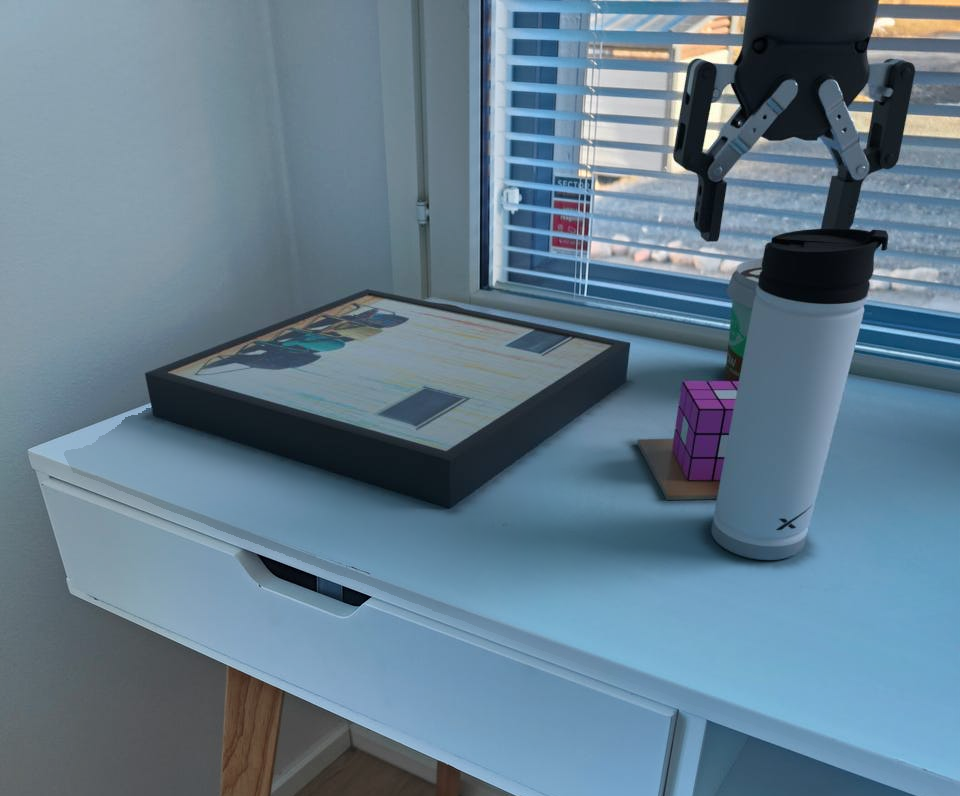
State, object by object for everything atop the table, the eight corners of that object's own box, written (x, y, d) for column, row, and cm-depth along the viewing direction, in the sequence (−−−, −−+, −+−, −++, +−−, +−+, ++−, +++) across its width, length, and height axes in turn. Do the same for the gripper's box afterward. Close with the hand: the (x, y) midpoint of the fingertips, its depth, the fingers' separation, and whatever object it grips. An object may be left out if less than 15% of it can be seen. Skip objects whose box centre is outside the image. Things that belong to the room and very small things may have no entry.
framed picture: (367, 288, 98) (630, 342, 86) (369, 324, 101) (626, 382, 88) (144, 373, 77) (449, 460, 65) (153, 415, 80) (450, 508, 67)
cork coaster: (755, 441, 77) (755, 437, 77) (798, 497, 69) (799, 492, 69) (636, 443, 77) (637, 439, 76) (666, 500, 68) (667, 495, 68)
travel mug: (805, 570, 61) (890, 246, 49) (703, 551, 63) (762, 234, 51) (812, 527, 66) (891, 222, 54) (717, 510, 67) (774, 212, 56)
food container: (695, 361, 93) (712, 256, 87) (755, 360, 93) (775, 255, 88) (736, 409, 83) (758, 294, 77) (803, 407, 83) (829, 292, 78)
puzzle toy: (671, 449, 75) (681, 380, 71) (741, 449, 75) (755, 380, 72) (687, 481, 70) (698, 409, 67) (761, 481, 70) (777, 409, 67)
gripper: (721, -59, 51) (681, 254, 60) (973, -58, 52) (894, 251, 61) (686, -58, 57) (655, 227, 66) (912, -56, 58) (849, 224, 67)
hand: (770, 238), depth 64 cm, fingers open, 8 cm apart
